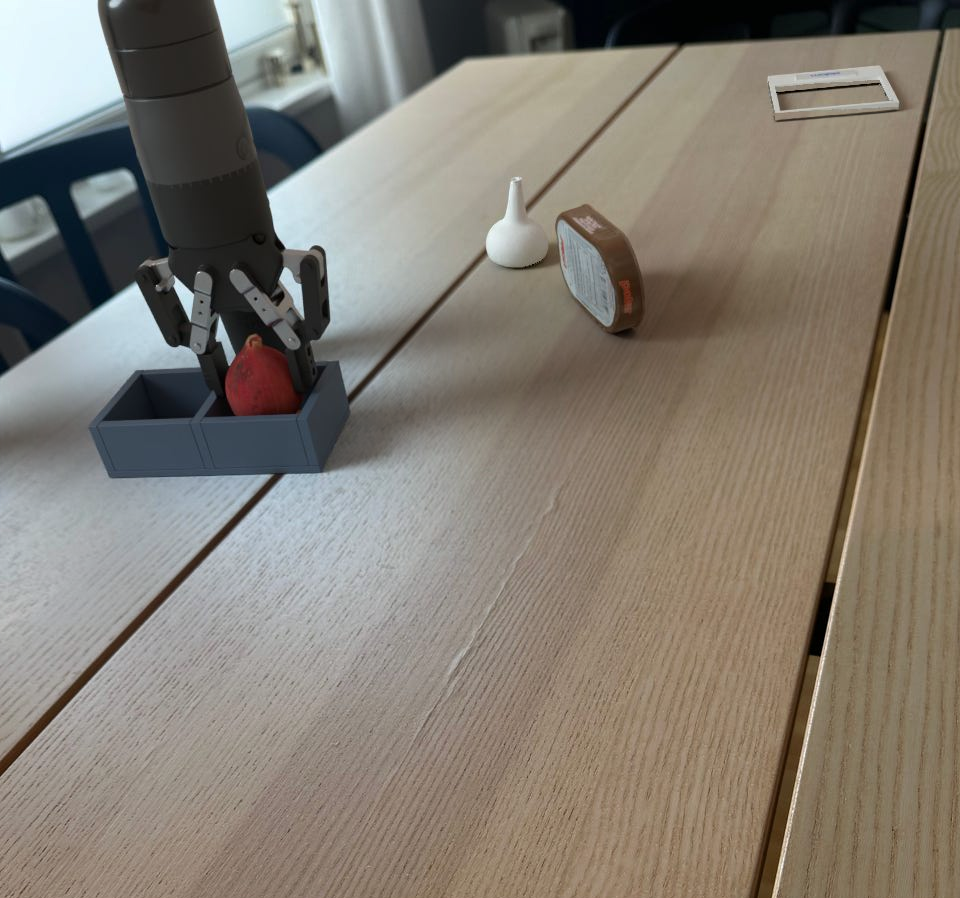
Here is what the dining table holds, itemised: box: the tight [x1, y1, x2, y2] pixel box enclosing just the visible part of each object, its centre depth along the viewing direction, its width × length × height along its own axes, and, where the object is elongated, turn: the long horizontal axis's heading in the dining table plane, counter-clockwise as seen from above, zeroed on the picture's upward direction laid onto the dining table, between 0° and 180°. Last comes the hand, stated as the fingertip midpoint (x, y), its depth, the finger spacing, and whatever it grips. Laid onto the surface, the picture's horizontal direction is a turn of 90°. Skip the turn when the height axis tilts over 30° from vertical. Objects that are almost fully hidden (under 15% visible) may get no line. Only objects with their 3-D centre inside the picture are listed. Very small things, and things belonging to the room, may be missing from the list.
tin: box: [554, 203, 646, 334], centre depth 89 cm, size 15×3×8 cm, turn 16°
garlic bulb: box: [485, 176, 549, 268], centre depth 101 cm, size 6×6×8 cm
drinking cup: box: [219, 198, 287, 356], centre depth 86 cm, size 8×8×20 cm
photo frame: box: [767, 64, 900, 113], centre depth 132 cm, size 15×1×18 cm
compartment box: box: [87, 360, 351, 479], centre depth 80 cm, size 18×9×5 cm, turn 81°
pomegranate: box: [225, 334, 303, 416], centre depth 78 cm, size 6×6×8 cm
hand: (264, 390), depth 78 cm, fingers closed on pomegranate, 6 cm apart
